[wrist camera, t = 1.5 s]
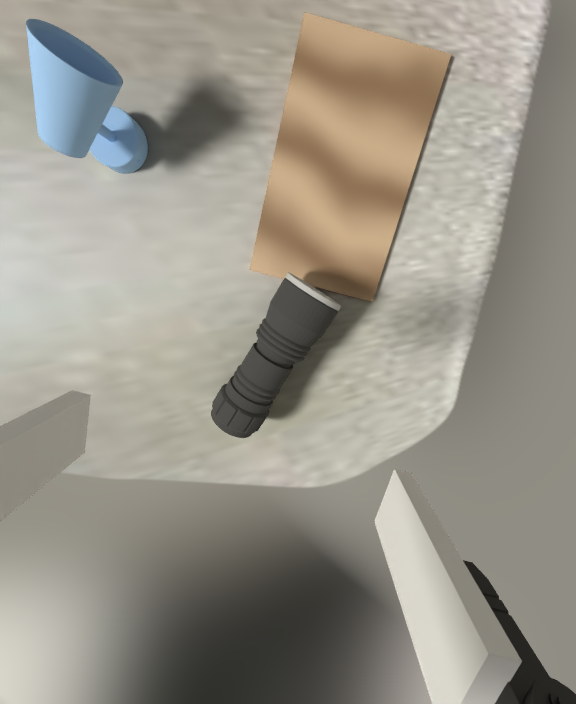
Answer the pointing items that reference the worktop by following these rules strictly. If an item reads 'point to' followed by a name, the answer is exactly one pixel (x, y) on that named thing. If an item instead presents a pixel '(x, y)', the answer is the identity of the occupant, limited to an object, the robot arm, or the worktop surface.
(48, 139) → the spotlight
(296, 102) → the mat
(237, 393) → the flashlight
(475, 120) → the worktop surface
